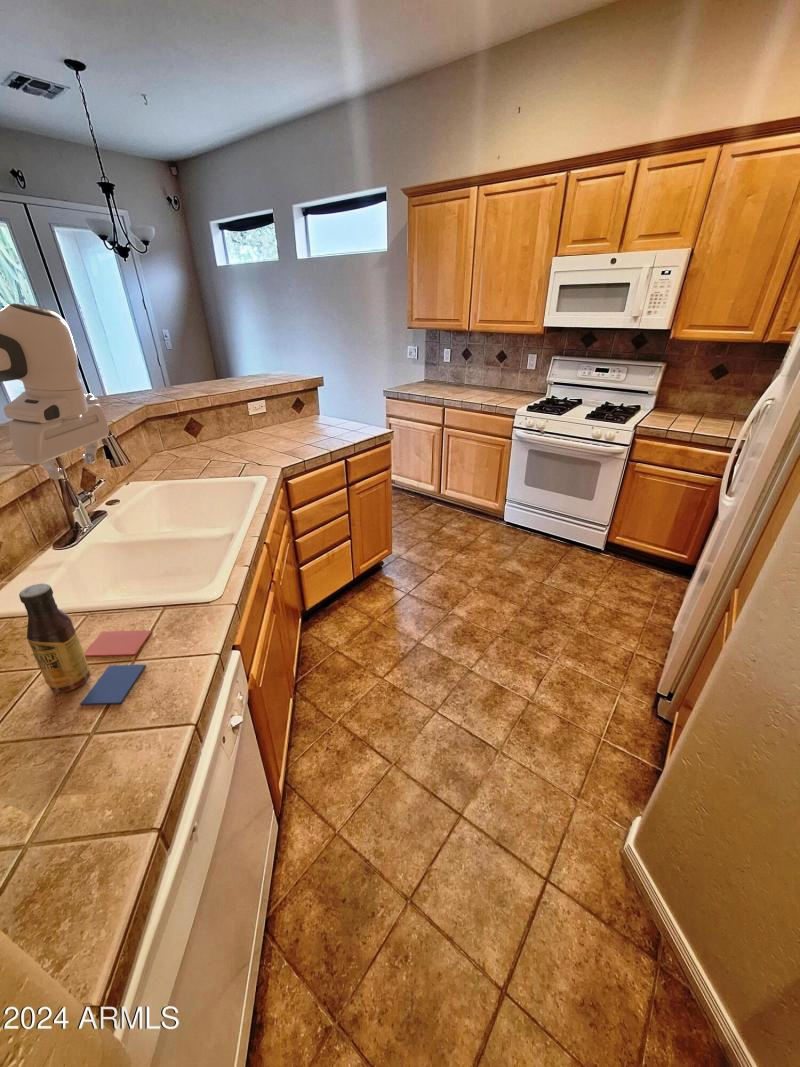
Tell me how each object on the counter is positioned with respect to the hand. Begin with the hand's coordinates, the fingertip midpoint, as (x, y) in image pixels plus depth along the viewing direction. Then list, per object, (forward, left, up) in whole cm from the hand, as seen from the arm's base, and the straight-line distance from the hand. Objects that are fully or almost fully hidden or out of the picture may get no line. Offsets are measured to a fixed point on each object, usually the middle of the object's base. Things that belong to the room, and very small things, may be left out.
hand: (74, 470), depth 88 cm
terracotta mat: (+10, -18, -31) cm, 37 cm away
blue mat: (+15, -29, -31) cm, 45 cm away
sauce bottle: (+7, -28, -31) cm, 42 cm away
